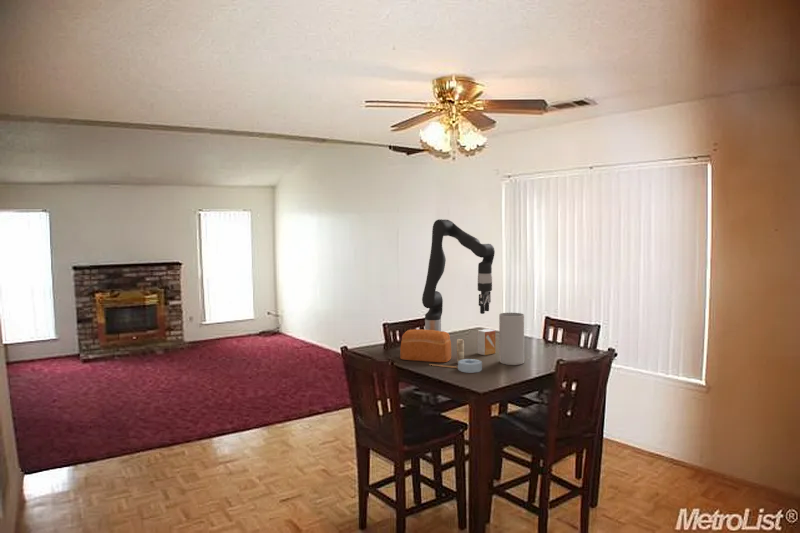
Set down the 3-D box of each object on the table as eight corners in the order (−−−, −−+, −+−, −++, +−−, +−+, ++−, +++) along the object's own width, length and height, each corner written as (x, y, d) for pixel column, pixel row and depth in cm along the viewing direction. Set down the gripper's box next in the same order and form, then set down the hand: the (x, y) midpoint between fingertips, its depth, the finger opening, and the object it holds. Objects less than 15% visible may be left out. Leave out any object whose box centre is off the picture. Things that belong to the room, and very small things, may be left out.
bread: (446, 363, 282) (445, 333, 281) (398, 360, 292) (398, 331, 290) (453, 357, 295) (452, 328, 294) (407, 354, 304) (406, 326, 303)
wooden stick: (428, 365, 279) (428, 363, 279) (429, 365, 280) (429, 363, 280) (459, 368, 272) (459, 367, 272) (460, 368, 272) (460, 366, 272)
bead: (455, 371, 267) (455, 363, 267) (463, 365, 277) (463, 358, 277) (477, 373, 263) (476, 365, 262) (484, 368, 272) (484, 360, 272)
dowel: (456, 363, 283) (455, 340, 282) (458, 361, 286) (458, 339, 285) (462, 363, 281) (462, 340, 280) (465, 362, 284) (464, 339, 284)
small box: (484, 355, 298) (484, 332, 297) (477, 353, 304) (477, 330, 303) (495, 353, 303) (495, 330, 302) (488, 351, 308) (487, 328, 307)
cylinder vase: (527, 365, 277) (527, 316, 275) (503, 365, 276) (502, 316, 274) (520, 359, 289) (520, 312, 288) (496, 359, 288) (496, 312, 287)
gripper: (481, 280, 296) (481, 309, 297) (473, 283, 283) (473, 314, 284) (495, 280, 293) (495, 310, 294) (488, 283, 280) (487, 314, 281)
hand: (484, 312), depth 289 cm, fingers open, 8 cm apart
